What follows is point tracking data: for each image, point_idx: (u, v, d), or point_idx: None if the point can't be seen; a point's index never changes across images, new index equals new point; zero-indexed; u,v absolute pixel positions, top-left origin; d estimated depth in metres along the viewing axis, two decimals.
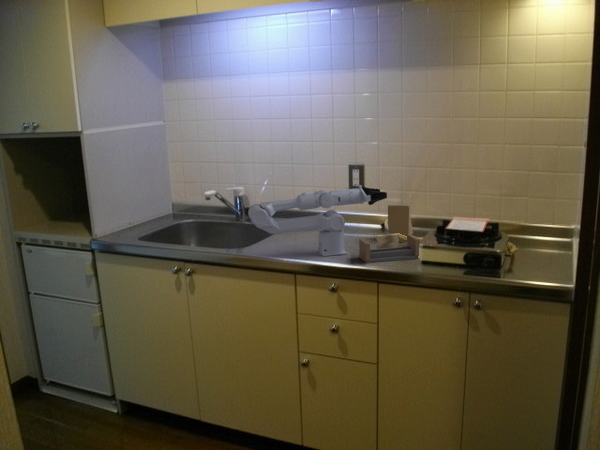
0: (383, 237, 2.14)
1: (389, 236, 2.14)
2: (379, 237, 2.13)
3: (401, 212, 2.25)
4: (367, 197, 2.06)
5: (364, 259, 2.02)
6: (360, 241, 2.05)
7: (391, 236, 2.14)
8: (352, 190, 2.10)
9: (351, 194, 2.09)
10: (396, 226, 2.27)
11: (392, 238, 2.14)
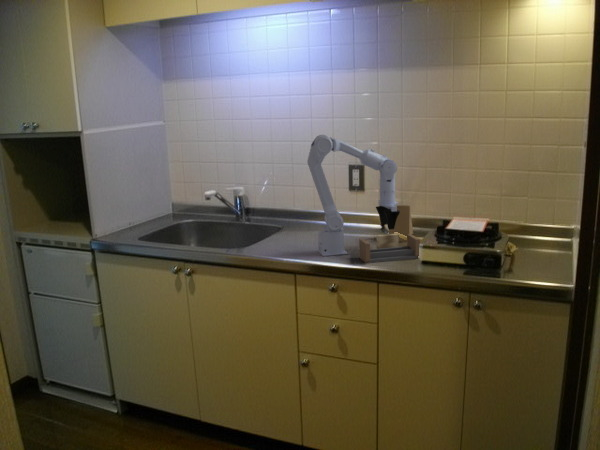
0: (383, 237, 2.14)
1: (389, 236, 2.14)
2: (379, 237, 2.13)
3: (402, 212, 2.25)
4: (395, 208, 2.05)
5: (364, 259, 2.02)
6: (360, 241, 2.05)
7: (391, 236, 2.14)
8: None
9: (393, 193, 2.09)
10: (397, 226, 2.27)
11: (392, 238, 2.14)
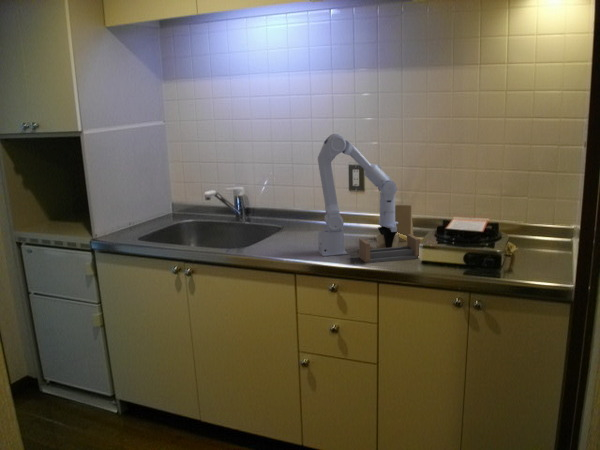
0: (383, 237, 2.14)
1: None
2: (379, 237, 2.13)
3: (403, 211, 2.25)
4: (395, 228, 2.07)
5: (364, 259, 2.02)
6: (360, 241, 2.05)
7: None
8: None
9: (393, 213, 2.11)
10: (398, 226, 2.27)
11: None
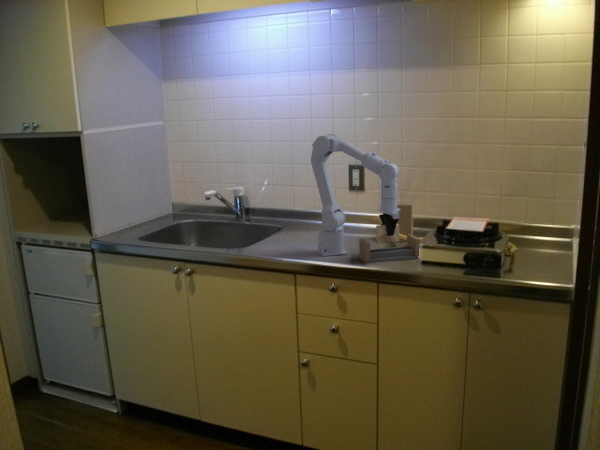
0: (383, 227, 2.02)
1: None
2: (379, 227, 2.02)
3: (404, 211, 2.26)
4: (397, 215, 1.96)
5: (364, 259, 2.02)
6: (360, 241, 2.05)
7: None
8: None
9: (395, 199, 1.99)
10: (399, 225, 2.28)
11: None
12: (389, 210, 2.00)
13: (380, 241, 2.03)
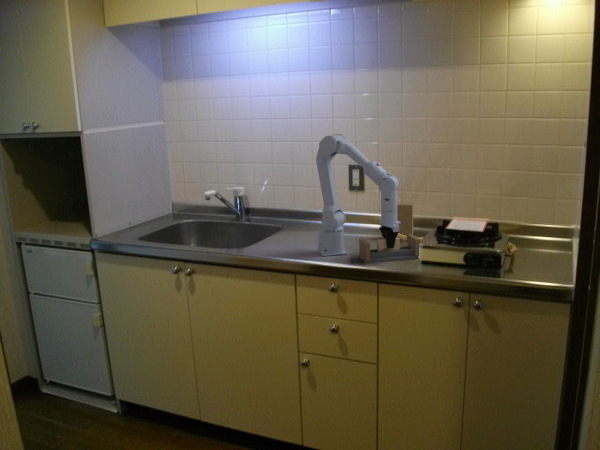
0: (384, 241, 2.03)
1: None
2: (379, 241, 2.03)
3: (405, 211, 2.26)
4: (397, 228, 1.96)
5: (364, 259, 2.02)
6: (360, 241, 2.05)
7: None
8: None
9: (395, 212, 2.00)
10: (400, 225, 2.28)
11: None
12: (389, 223, 2.00)
13: None
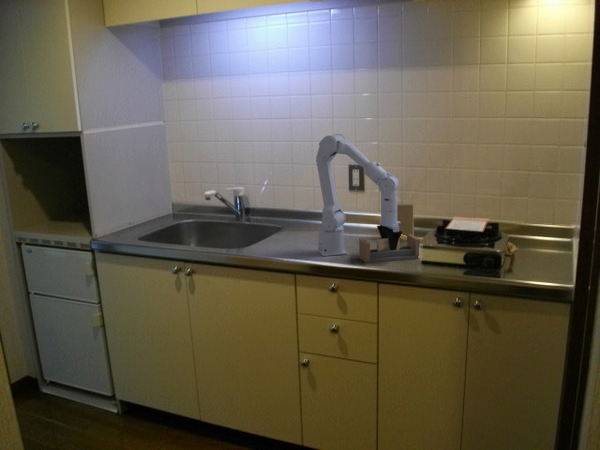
0: (384, 241, 2.03)
1: None
2: (379, 241, 2.03)
3: (405, 211, 2.26)
4: (397, 228, 1.96)
5: (364, 259, 2.02)
6: (360, 241, 2.05)
7: None
8: None
9: (395, 212, 2.00)
10: (400, 225, 2.28)
11: None
12: (389, 223, 2.00)
13: None
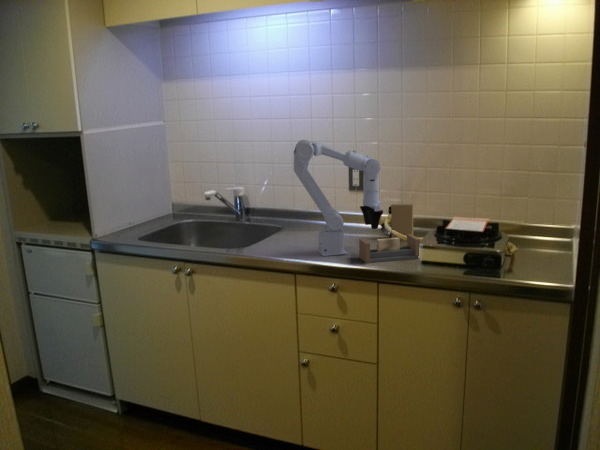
0: (384, 241, 2.03)
1: (390, 240, 2.04)
2: (379, 241, 2.03)
3: (405, 211, 2.27)
4: (378, 207, 2.05)
5: (364, 259, 2.02)
6: (360, 241, 2.05)
7: (392, 240, 2.04)
8: (378, 194, 2.10)
9: (376, 193, 2.09)
10: (400, 225, 2.28)
11: (393, 243, 2.04)
12: (371, 203, 2.09)
13: None
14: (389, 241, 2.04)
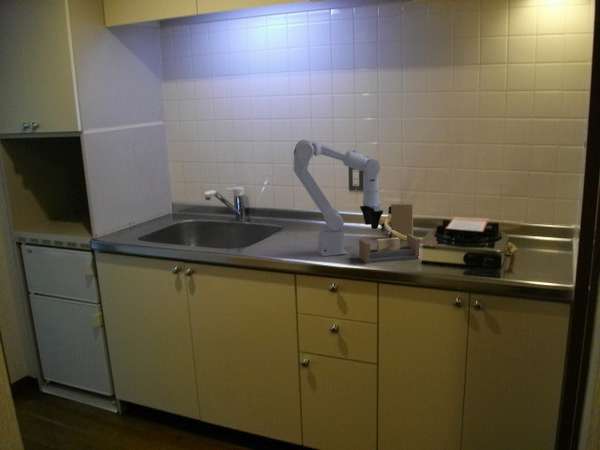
0: (384, 241, 2.03)
1: (390, 240, 2.04)
2: (379, 241, 2.03)
3: (404, 210, 2.27)
4: (378, 207, 2.05)
5: (364, 259, 2.02)
6: (360, 241, 2.05)
7: (392, 240, 2.04)
8: (378, 194, 2.10)
9: (376, 193, 2.09)
10: (400, 225, 2.29)
11: (393, 243, 2.04)
12: (371, 203, 2.09)
13: None
14: (389, 241, 2.04)
